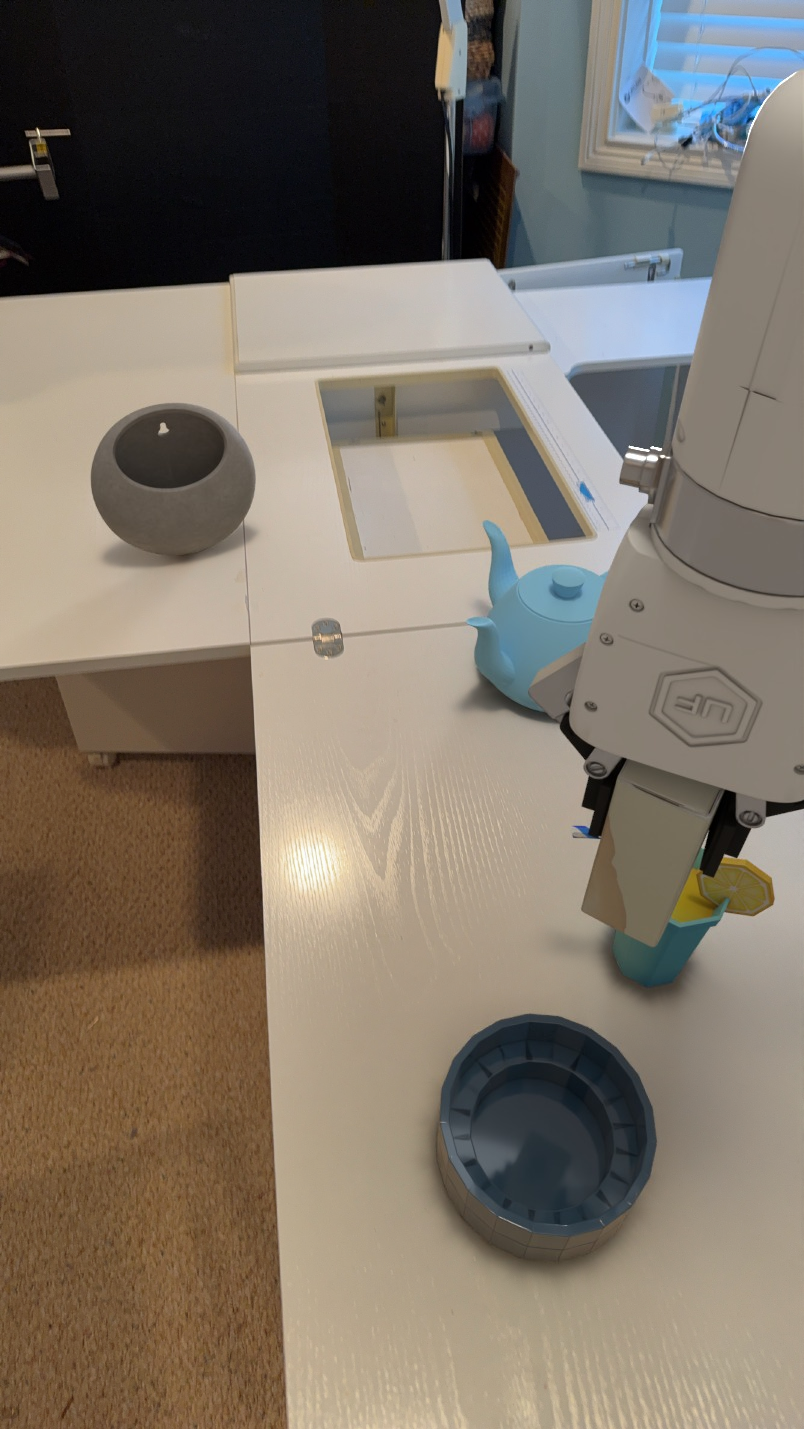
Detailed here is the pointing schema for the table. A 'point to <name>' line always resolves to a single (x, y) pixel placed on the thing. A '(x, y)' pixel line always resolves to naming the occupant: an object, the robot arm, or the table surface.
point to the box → (648, 849)
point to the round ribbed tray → (544, 1136)
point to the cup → (692, 917)
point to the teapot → (531, 618)
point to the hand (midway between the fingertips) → (656, 832)
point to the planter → (173, 479)
